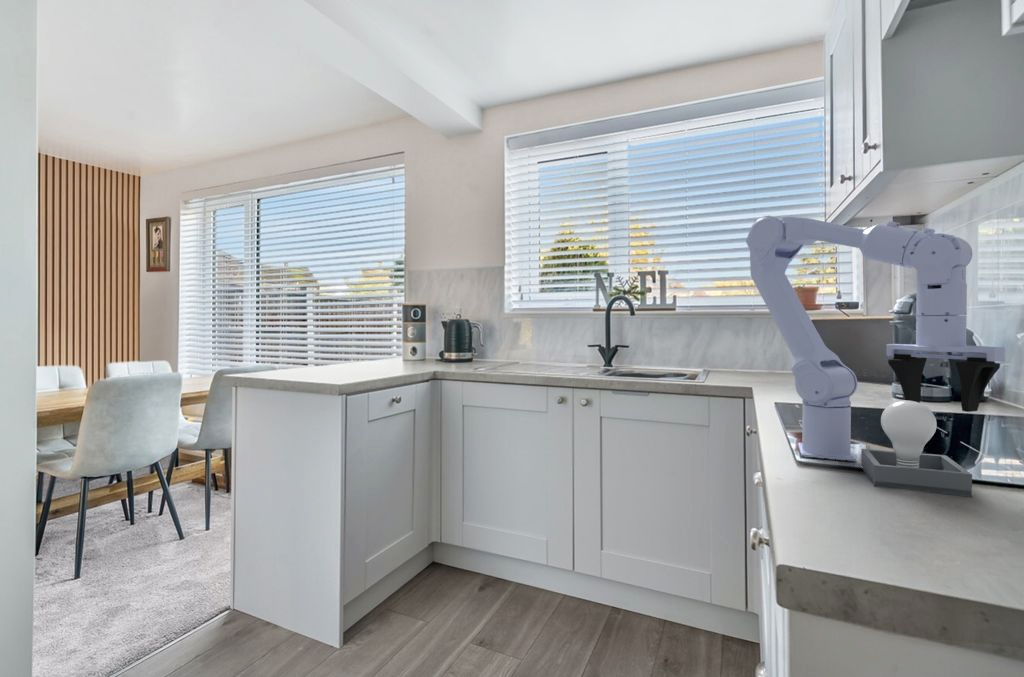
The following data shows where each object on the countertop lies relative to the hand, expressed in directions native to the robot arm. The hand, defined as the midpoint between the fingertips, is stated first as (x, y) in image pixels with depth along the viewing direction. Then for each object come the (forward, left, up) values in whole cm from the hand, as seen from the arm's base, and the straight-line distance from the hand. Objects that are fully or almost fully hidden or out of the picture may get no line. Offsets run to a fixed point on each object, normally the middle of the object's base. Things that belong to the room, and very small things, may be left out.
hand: (939, 407), depth 75 cm
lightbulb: (+5, -5, -10) cm, 12 cm away
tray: (+4, -4, -10) cm, 12 cm away
